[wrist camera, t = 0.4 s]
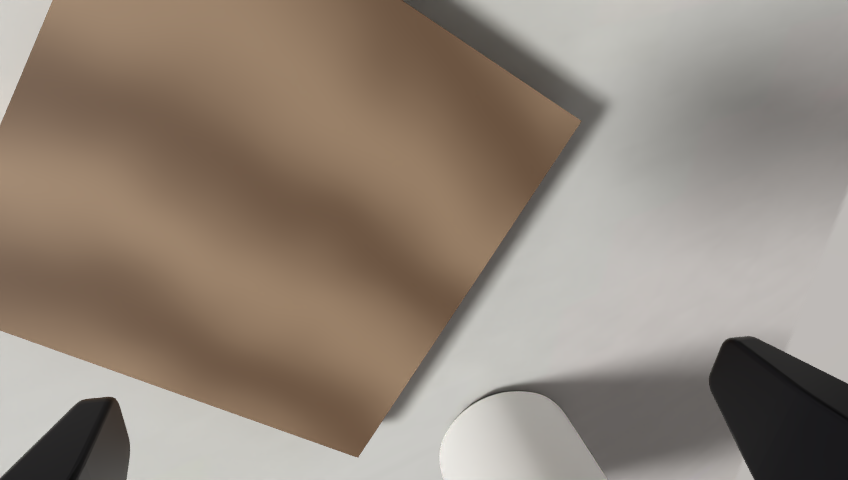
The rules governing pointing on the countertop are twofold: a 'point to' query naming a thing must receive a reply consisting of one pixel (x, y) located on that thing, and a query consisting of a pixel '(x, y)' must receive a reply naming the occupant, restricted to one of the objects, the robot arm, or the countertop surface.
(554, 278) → the countertop surface
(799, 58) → the countertop surface
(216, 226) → the cutting board
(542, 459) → the can
